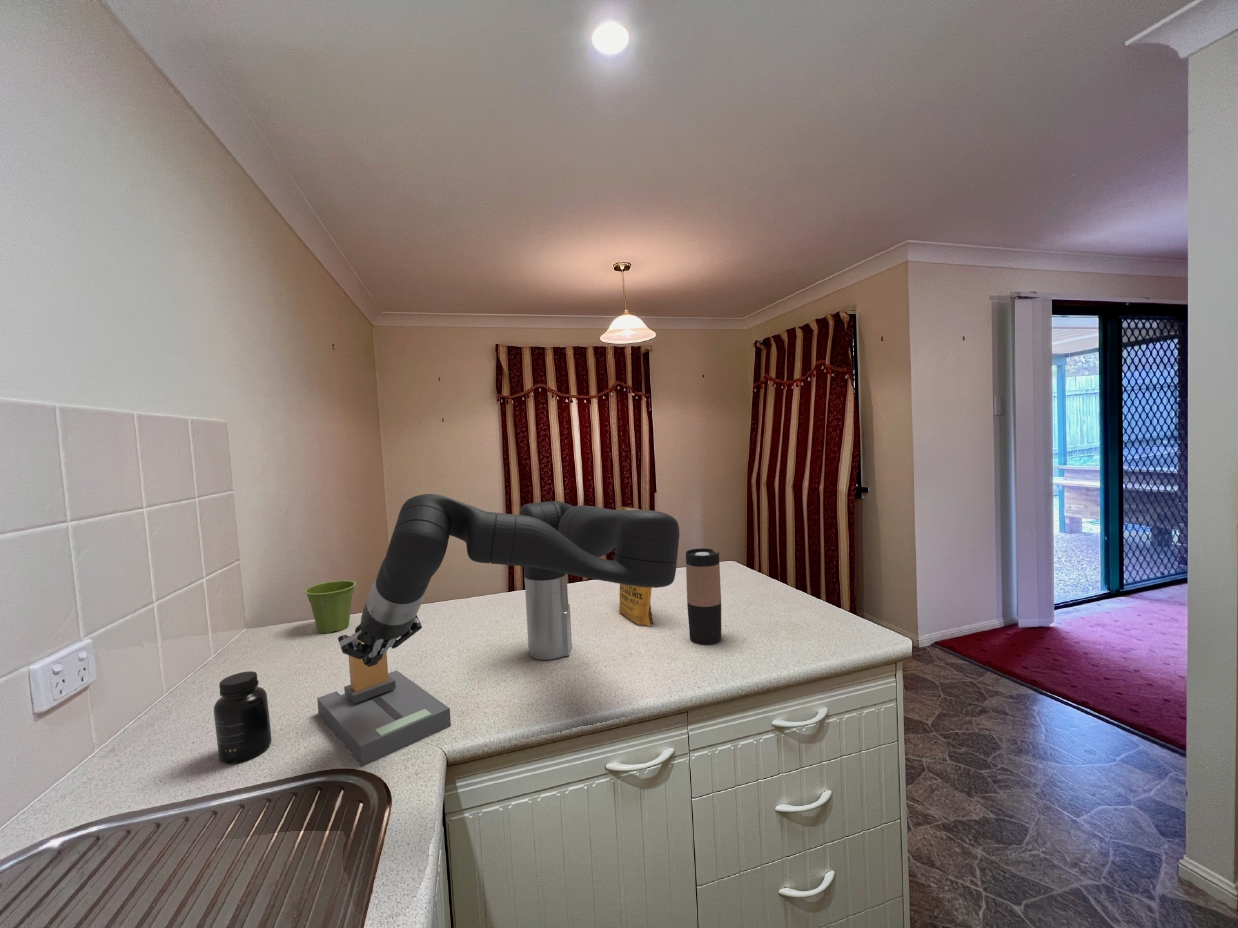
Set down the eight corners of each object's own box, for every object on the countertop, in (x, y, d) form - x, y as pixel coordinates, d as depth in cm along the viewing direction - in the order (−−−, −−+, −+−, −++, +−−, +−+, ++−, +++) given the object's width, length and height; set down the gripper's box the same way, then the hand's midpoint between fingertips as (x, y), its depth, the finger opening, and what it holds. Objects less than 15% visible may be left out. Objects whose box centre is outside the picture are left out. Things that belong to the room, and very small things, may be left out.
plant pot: (300, 640, 129) (296, 595, 128) (316, 623, 140) (313, 582, 140) (352, 633, 131) (349, 590, 131) (364, 618, 143) (361, 578, 142)
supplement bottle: (236, 740, 85) (230, 669, 84) (280, 737, 85) (274, 665, 85) (207, 767, 78) (200, 689, 77) (255, 762, 79) (248, 685, 78)
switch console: (318, 714, 92) (317, 696, 92) (397, 685, 102) (396, 669, 102) (362, 765, 77) (360, 744, 76) (450, 725, 86) (449, 706, 86)
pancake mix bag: (633, 604, 144) (629, 504, 143) (668, 625, 127) (663, 512, 126) (611, 608, 141) (606, 507, 140) (644, 631, 124) (638, 515, 123)
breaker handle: (344, 694, 92) (340, 642, 91) (385, 679, 97) (381, 630, 96) (354, 703, 88) (350, 649, 88) (395, 688, 93) (392, 637, 93)
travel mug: (684, 643, 116) (681, 555, 115) (693, 630, 123) (689, 547, 122) (719, 647, 113) (715, 556, 112) (725, 634, 120) (722, 548, 119)
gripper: (355, 636, 72) (334, 696, 81) (445, 610, 81) (416, 666, 90) (339, 592, 75) (320, 654, 84) (427, 572, 85) (401, 630, 94)
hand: (370, 660), depth 87 cm, fingers closed
